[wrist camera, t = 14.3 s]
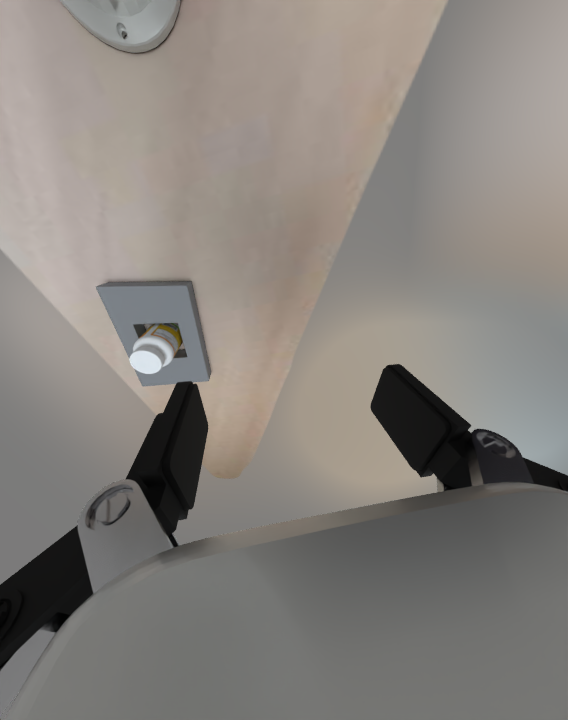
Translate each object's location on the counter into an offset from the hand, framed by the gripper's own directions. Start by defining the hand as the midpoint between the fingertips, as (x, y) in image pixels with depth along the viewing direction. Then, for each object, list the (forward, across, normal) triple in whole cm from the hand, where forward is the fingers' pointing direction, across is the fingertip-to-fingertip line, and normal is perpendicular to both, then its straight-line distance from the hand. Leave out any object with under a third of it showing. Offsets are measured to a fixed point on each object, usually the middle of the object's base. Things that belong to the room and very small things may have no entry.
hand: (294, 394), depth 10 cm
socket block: (+28, +17, +9) cm, 34 cm away
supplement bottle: (+28, +17, +9) cm, 34 cm away
